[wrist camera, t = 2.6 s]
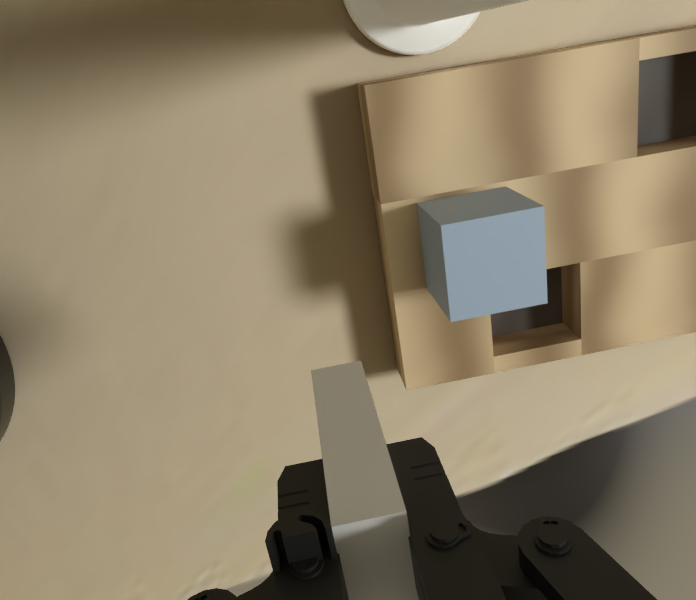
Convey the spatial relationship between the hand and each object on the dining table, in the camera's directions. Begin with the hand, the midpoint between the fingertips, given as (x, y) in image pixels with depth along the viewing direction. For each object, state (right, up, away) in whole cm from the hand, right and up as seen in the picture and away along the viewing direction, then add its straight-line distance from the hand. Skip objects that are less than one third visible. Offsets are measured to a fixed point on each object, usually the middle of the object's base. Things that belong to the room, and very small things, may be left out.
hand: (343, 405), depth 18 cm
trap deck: (+14, +9, +15) cm, 22 cm away
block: (+6, +6, +12) cm, 15 cm away
